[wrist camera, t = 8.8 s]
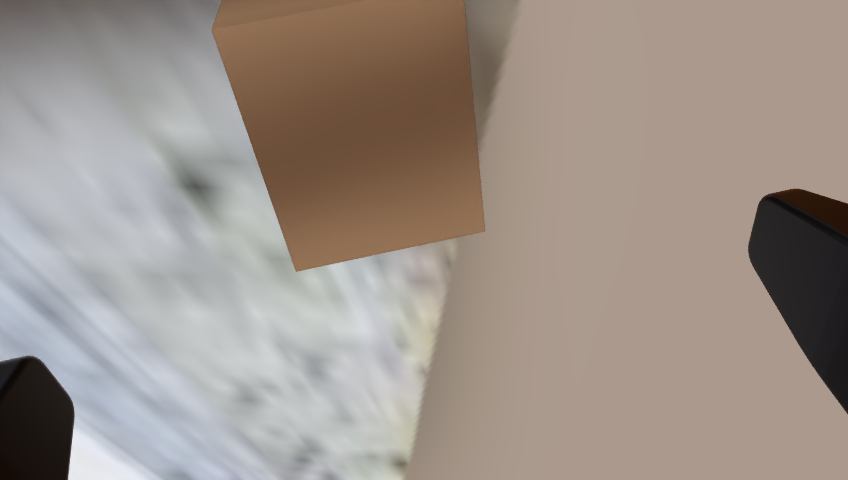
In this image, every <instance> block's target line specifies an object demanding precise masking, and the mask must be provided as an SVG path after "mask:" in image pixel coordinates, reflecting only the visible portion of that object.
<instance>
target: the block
mask: <svg viewBox="0 0 848 480" xmlns="http://www.w3.org/2000/svg"><path fill="white" fill-rule="evenodd" d="M212 32H213V35H214V38H215V41H216V44H217V47H218V50H219V52H220V55H221V58H222V61H223V64H224V67H225V70H226V72H227V75H228V78H229V81H230V84H231V87H232V90H233V93H234V95H235V98H236V101H237V104H238V107H239V110H240V113H241V115H242V118H243V121H244V124H245V127H246V130H247V133H248V136H249V138H250V141H251V144H252V147H253V150H254V153H255V156H256V158H257V161H258V164H259V167H260V170H261V173H262V176H263V179H264V181H265V184H266V187H267V190H268V193H269V196H270V199H271V201H272V204H273V207H274V210H275V213H276V216H277V219H278V222H279V224H280V227H281V230H282V233H283V236H284V239H285V242H286V244H287V247H288V250H289V253H290V256H291V259H292V262H293V265H294V267H295V270H296V272H297V271H302V270H306V269H311V268H316V267H320V266H325V265H330V264H334V263H339V262H344V261H348V260H353V259H358V258H362V257H367V256H372V255H376V254H381V253H386V252H390V251H395V250H400V249H404V248H409V247H414V246H418V245H423V244H428V243H432V242H437V241H442V240H446V239H451V238H456V237H460V236H465V235H469V234H474V233H479V232H484V231H485V224H484V213H483V202H482V191H481V181H480V170H479V159H478V148H477V137H476V126H475V115H474V104H473V93H472V82H471V71H470V60H469V49H468V38H467V27H466V16H465V5H464V0H222V1H221V4H220V7H219V10H218V13H217V16H216V19H215V22H214V25H213V28H212Z"/></svg>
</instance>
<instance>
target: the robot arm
mask: <svg viewBox="0 0 848 480" xmlns="http://www.w3.org/2000/svg"><path fill="white" fill-rule="evenodd" d="M748 253H749V258H750V260H751V263H752V265H753V267H754V269H755V271H756V272H757V274H758V276H759V277H760V279H761V281H762V282H763V284H764V286H765V288H766V289H767V291H768V293H769V295H770V296H771V298H772V300H773V301H774V303H775V305H776V306H777V308H778V310H779V312H780V313H781V315H782V317H783V318H784V320H785V322H786V324H787V325H788V327H789V329H790V330H791V332H792V333H793V335H794V337H795V339H796V340H797V342H798V344H799V346H800V347H801V349H802V350H803V352H804V353H805V355H806V356H807V358H808V360H809V361H810V363H811V364H812V366H813V367H814V368H815V370H816V372H817V373H818V374H819V376H820V377H821V379H822V380H823V381H824V383H825V384H826V385H827V387H828V388H829V389H830V391H831V392H832V394H833V395H834V396H835V397H836V399H837V400H838V402H839V403H840V404H841V406H842V407H843V408H844V410H845V411H846V412H847V414H848V204H847V203H844V202H840V201H838V200H834V199H831V198H828V197H825V196H821V195H818V194H815V193H812V192H809V191H805V190H802V189H790V190H785V191H781V192H776V193H772V194H768V195H766V196H764V197H763V198H762V200H761V201H760V202H759V204H758V208H757V212H756V216H755V220H754V224H753V228H752V232H751V237H750V241H749V246H748ZM73 426H74V406H73V403H72V400H71V398H70V396H69V395H68V393H67V392H66V391H65V390H64V388H63V387H62V386H61V385H60V383H59V382H58V381H57V380H56V378H55V377H54V376H53V374H52V373H51V372H50V371H49V369H48V368H47V367H46V366H45V364H44V363H43V362H42V361H41V360H40V359H38V358H36V357H34V356H23V357H19V358H14V359H10V360H5V361H1V362H0V480H68V473H69V464H70V455H71V445H72V436H73Z"/></svg>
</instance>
